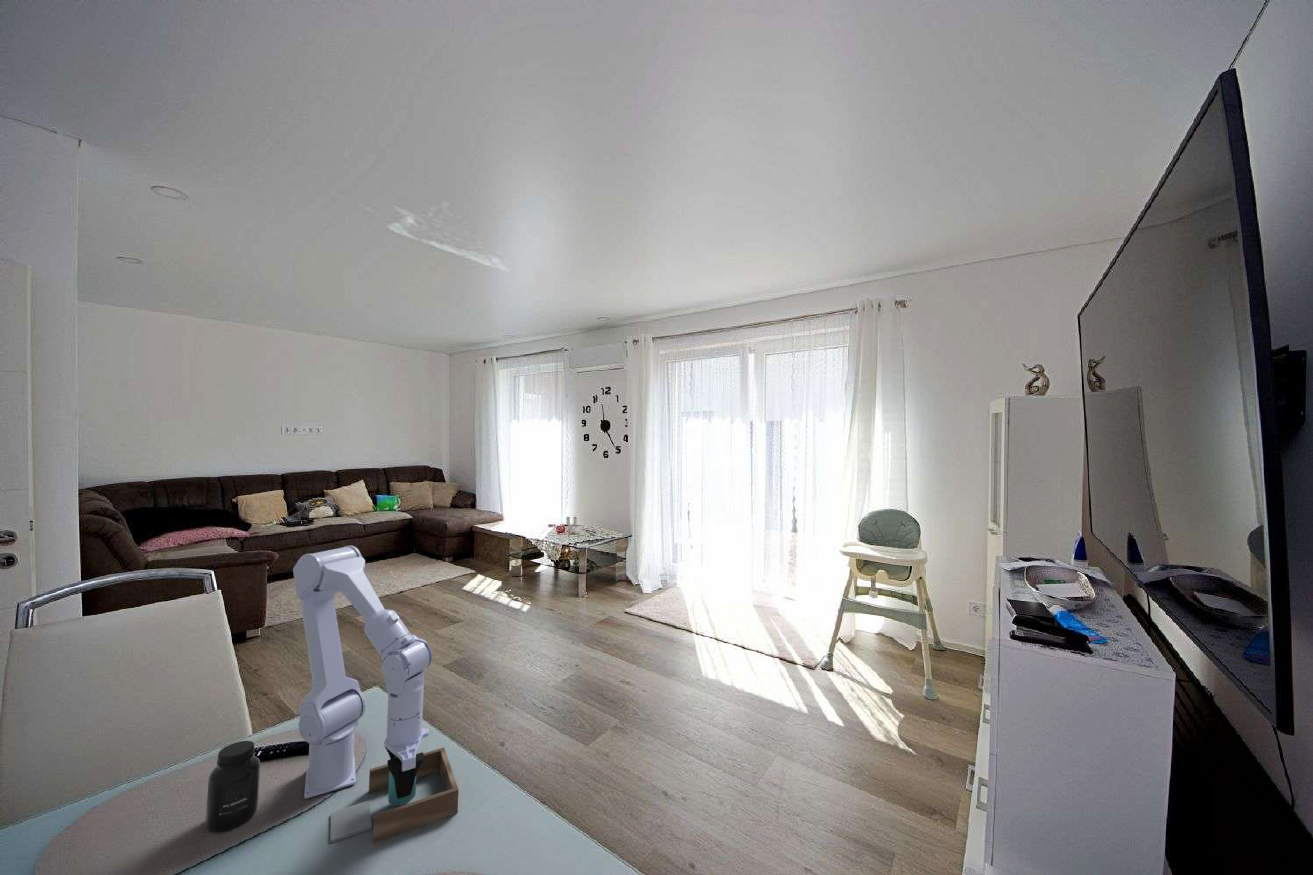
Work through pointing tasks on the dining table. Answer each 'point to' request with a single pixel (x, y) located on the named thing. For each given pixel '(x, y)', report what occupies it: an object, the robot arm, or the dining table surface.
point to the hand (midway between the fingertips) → (402, 787)
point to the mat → (350, 821)
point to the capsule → (392, 792)
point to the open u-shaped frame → (420, 809)
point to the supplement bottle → (233, 788)
